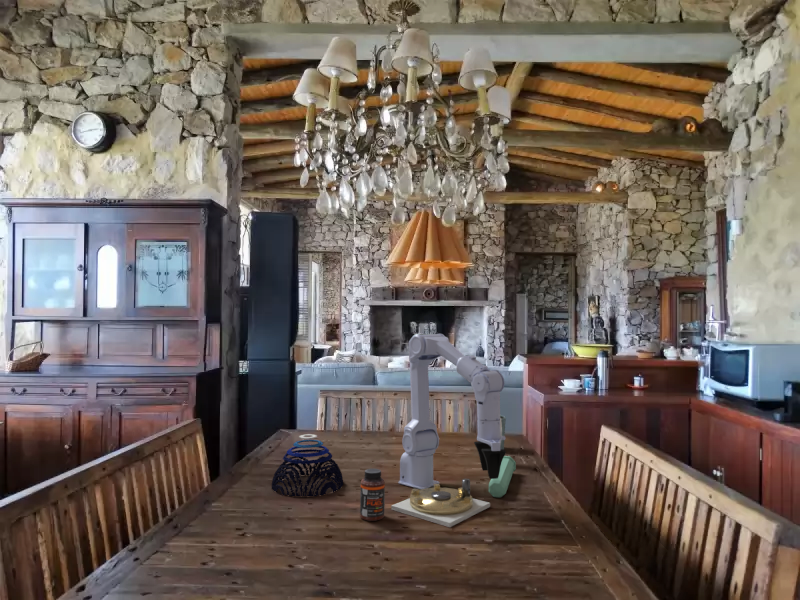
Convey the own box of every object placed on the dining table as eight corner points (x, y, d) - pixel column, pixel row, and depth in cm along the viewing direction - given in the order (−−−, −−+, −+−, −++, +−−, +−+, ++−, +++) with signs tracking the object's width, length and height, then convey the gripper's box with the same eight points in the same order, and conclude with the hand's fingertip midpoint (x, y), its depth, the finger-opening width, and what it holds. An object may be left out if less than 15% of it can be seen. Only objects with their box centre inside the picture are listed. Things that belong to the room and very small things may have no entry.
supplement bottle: (366, 523, 128) (366, 475, 129) (356, 515, 133) (356, 469, 134) (388, 519, 131) (388, 472, 131) (378, 511, 136) (378, 465, 137)
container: (502, 476, 146) (511, 452, 169) (481, 483, 147) (494, 458, 171) (510, 498, 145) (519, 471, 169) (490, 504, 146) (501, 476, 170)
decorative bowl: (357, 485, 158) (357, 435, 158) (301, 503, 143) (301, 447, 143) (314, 472, 171) (314, 426, 172) (258, 486, 157) (259, 436, 157)
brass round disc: (396, 504, 138) (396, 481, 138) (434, 489, 150) (434, 468, 150) (448, 519, 127) (448, 494, 127) (484, 502, 140) (484, 479, 140)
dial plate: (391, 509, 138) (391, 505, 138) (433, 492, 151) (433, 488, 151) (449, 527, 126) (449, 522, 126) (490, 506, 140) (490, 502, 140)
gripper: (512, 423, 129) (513, 481, 129) (497, 414, 144) (498, 466, 143) (482, 424, 129) (484, 482, 128) (471, 414, 143) (472, 467, 143)
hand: (490, 474), depth 136 cm, fingers open, 7 cm apart
